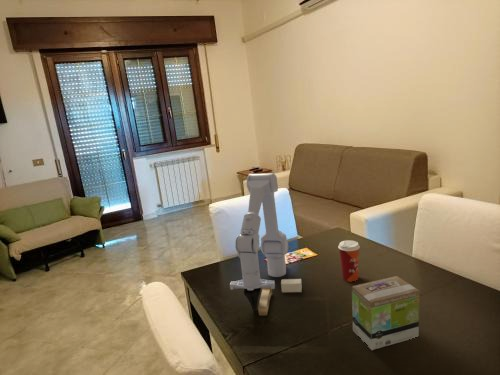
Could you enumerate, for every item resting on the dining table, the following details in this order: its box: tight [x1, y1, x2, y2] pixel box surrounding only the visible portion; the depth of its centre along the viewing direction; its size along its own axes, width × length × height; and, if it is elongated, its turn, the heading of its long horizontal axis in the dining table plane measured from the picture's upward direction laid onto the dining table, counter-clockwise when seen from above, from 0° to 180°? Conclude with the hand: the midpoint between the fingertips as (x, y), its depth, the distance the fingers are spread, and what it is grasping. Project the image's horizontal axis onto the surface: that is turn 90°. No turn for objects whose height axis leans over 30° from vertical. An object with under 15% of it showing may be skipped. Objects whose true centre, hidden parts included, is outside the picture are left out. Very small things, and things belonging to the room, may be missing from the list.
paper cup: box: [337, 240, 361, 283], centre depth 135 cm, size 8×8×14 cm
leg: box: [257, 288, 274, 316], centre depth 124 cm, size 15×4×3 cm, turn 171°
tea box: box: [351, 275, 420, 351], centre depth 101 cm, size 15×10×15 cm
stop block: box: [280, 278, 303, 293], centre depth 131 cm, size 3×7×4 cm, turn 81°
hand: (254, 307), depth 120 cm, fingers closed
